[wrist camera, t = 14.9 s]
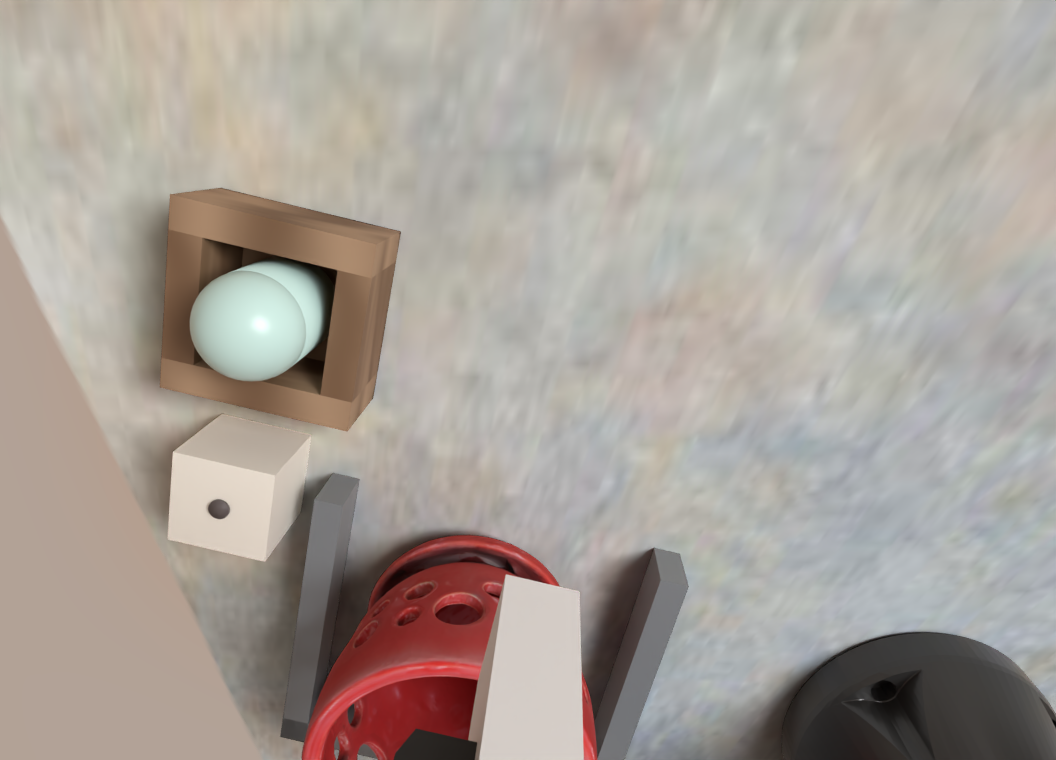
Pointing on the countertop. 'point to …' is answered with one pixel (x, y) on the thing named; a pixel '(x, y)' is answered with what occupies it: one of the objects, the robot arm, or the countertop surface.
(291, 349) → the dome button
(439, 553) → the plant pot
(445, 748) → the robot arm
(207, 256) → the button box
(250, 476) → the cream cube with hole
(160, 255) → the countertop surface
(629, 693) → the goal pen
